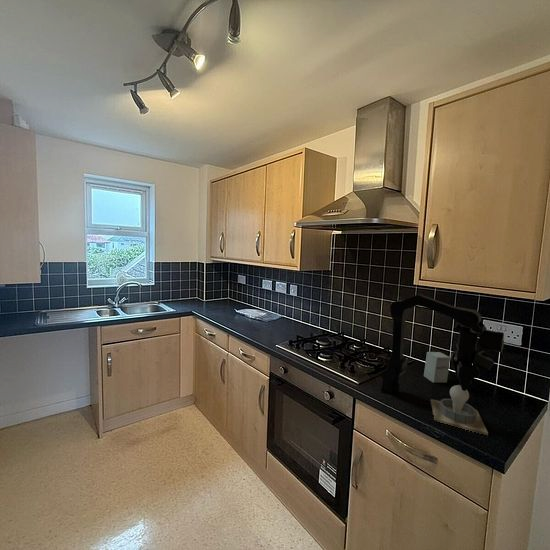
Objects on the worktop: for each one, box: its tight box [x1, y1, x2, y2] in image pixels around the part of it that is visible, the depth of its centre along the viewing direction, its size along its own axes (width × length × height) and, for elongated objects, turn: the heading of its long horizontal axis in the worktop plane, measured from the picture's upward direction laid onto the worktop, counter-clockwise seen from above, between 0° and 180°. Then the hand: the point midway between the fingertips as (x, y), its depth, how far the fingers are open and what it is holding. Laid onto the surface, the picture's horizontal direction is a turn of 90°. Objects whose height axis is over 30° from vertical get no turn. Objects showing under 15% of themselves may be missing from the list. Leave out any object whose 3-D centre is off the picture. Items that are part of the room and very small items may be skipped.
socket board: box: [430, 398, 489, 437], centre depth 111 cm, size 16×16×4 cm
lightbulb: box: [449, 384, 470, 413], centre depth 111 cm, size 6×6×11 cm
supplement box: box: [423, 351, 451, 384], centre depth 144 cm, size 7×7×13 cm
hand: (461, 385), depth 110 cm, fingers open, 9 cm apart
